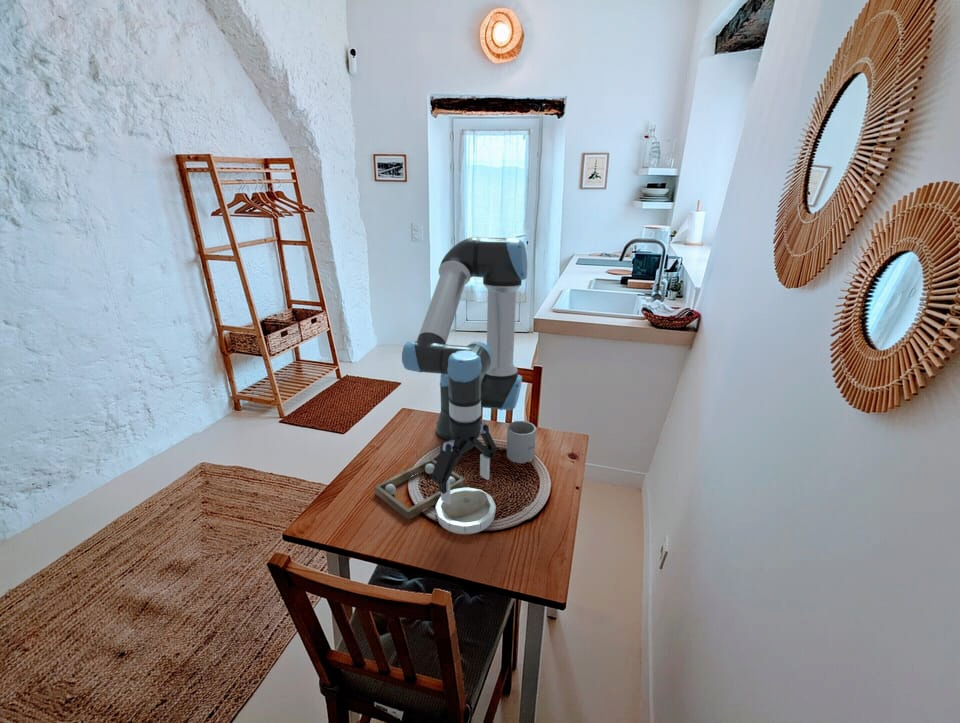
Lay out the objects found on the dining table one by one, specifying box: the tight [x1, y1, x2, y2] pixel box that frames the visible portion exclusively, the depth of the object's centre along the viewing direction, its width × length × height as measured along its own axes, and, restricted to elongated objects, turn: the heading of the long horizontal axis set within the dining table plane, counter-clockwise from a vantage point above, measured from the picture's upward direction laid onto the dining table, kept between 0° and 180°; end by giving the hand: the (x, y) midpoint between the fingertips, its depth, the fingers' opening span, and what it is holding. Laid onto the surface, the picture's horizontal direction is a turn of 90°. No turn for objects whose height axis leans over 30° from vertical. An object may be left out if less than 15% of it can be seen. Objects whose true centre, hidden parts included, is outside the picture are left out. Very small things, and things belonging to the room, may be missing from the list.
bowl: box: [435, 486, 497, 535], centre depth 121 cm, size 15×15×3 cm
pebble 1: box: [385, 484, 397, 496], centre depth 129 cm, size 3×3×3 cm
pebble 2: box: [448, 476, 456, 485], centre depth 132 cm, size 3×3×3 cm
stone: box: [443, 490, 487, 517], centre depth 121 cm, size 6×6×12 cm
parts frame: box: [374, 457, 466, 521], centre depth 131 cm, size 20×15×2 cm
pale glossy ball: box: [424, 464, 435, 475], centre depth 138 cm, size 3×3×3 cm
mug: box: [506, 420, 537, 464], centre depth 147 cm, size 12×9×10 cm
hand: (466, 489), depth 120 cm, fingers open, 13 cm apart
